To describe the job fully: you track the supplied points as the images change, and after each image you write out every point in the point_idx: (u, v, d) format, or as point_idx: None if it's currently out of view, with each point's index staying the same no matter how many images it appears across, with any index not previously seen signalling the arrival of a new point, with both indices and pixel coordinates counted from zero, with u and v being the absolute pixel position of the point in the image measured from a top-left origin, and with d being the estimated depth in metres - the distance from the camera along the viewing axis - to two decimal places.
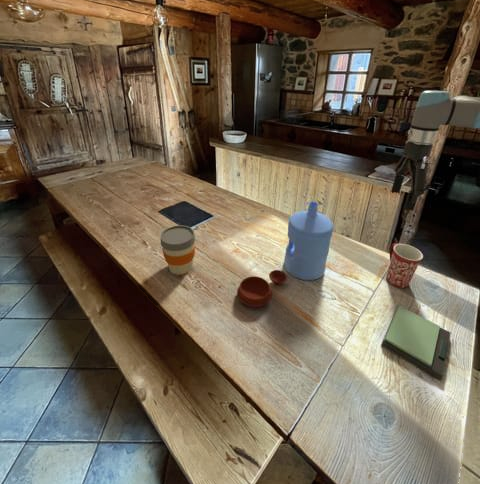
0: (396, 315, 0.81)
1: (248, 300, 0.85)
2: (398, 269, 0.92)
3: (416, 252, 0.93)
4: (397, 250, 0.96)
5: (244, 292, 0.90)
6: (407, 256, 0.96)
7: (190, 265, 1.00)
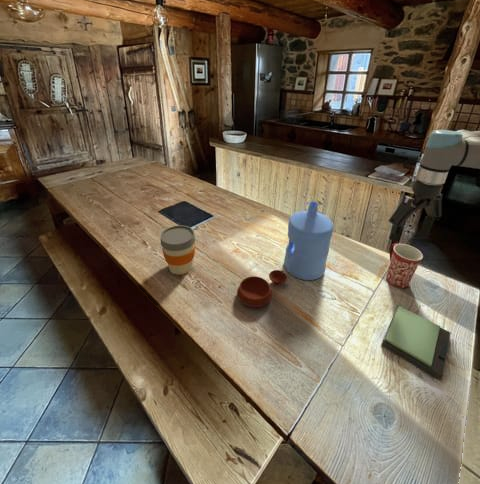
0: (396, 315, 0.81)
1: (248, 300, 0.85)
2: (398, 269, 0.92)
3: (416, 252, 0.93)
4: (397, 250, 0.96)
5: (244, 292, 0.90)
6: (407, 256, 0.96)
7: (190, 265, 1.00)
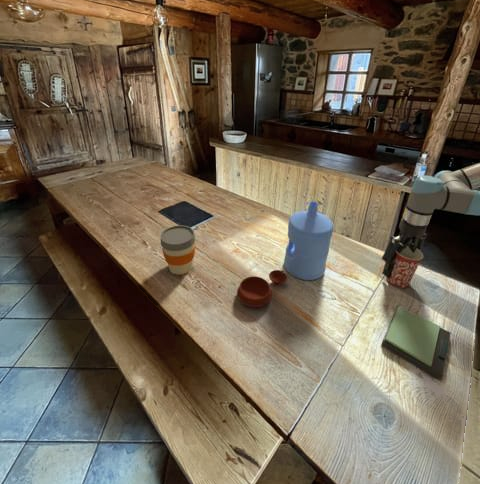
0: (396, 315, 0.81)
1: (248, 300, 0.85)
2: (398, 269, 0.92)
3: (416, 252, 0.94)
4: None
5: (244, 292, 0.90)
6: (407, 256, 0.96)
7: (190, 265, 1.00)
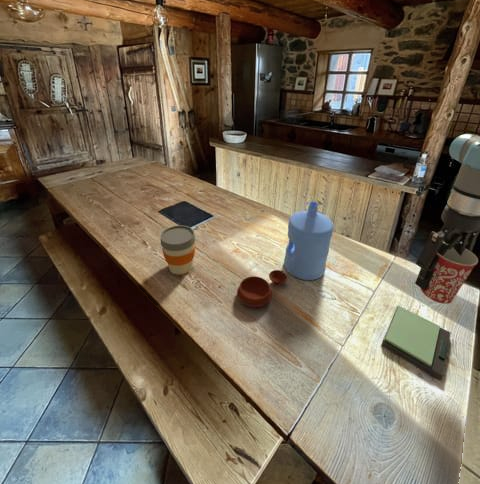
0: (396, 315, 0.81)
1: (248, 300, 0.85)
2: (441, 278, 0.65)
3: (465, 253, 0.66)
4: None
5: (244, 292, 0.90)
6: (451, 259, 0.69)
7: (190, 265, 1.00)
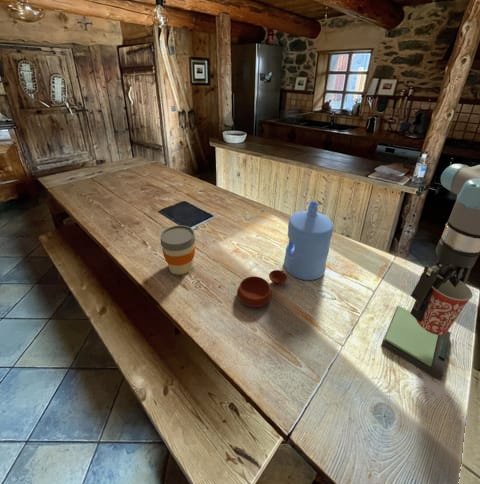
0: (396, 315, 0.81)
1: (248, 300, 0.85)
2: (435, 310, 0.65)
3: (460, 285, 0.66)
4: None
5: (244, 292, 0.90)
6: (445, 290, 0.69)
7: (190, 265, 1.00)
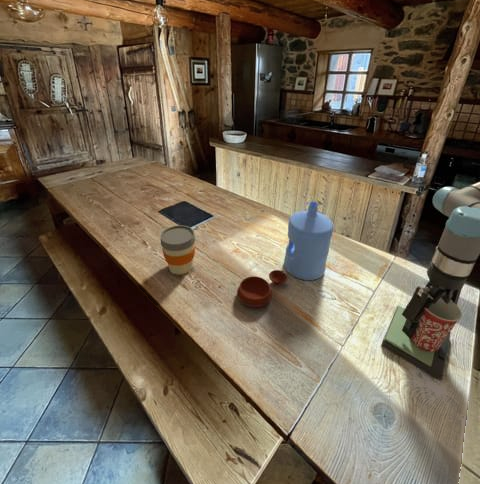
0: (396, 315, 0.81)
1: (248, 300, 0.85)
2: (427, 329, 0.68)
3: (450, 305, 0.69)
4: None
5: (244, 292, 0.90)
6: (437, 309, 0.72)
7: (190, 265, 1.00)
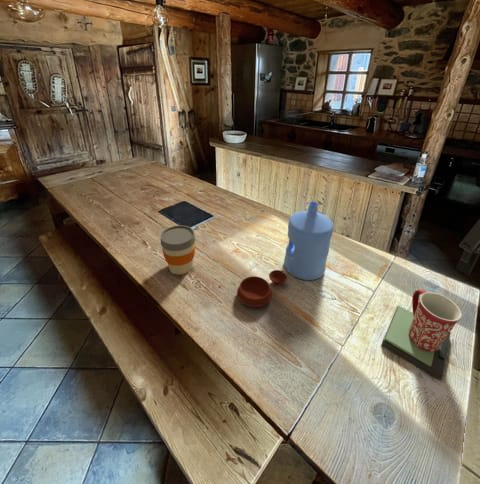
0: (396, 315, 0.81)
1: (248, 300, 0.85)
2: (427, 329, 0.68)
3: (450, 305, 0.69)
4: (424, 301, 0.72)
5: (244, 292, 0.90)
6: (437, 309, 0.72)
7: (190, 265, 1.00)
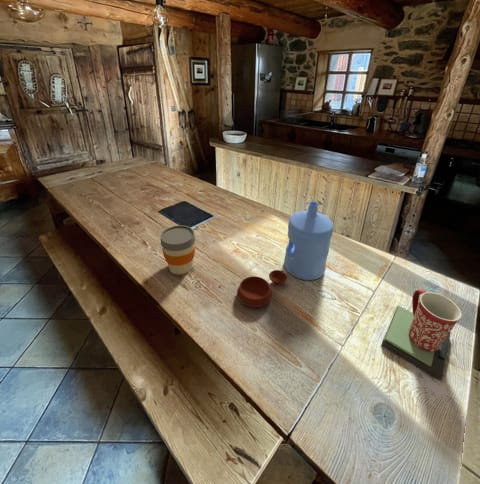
0: (396, 315, 0.81)
1: (248, 300, 0.85)
2: (427, 329, 0.68)
3: (450, 305, 0.69)
4: (424, 301, 0.72)
5: (244, 292, 0.90)
6: (437, 309, 0.72)
7: (190, 265, 1.00)
